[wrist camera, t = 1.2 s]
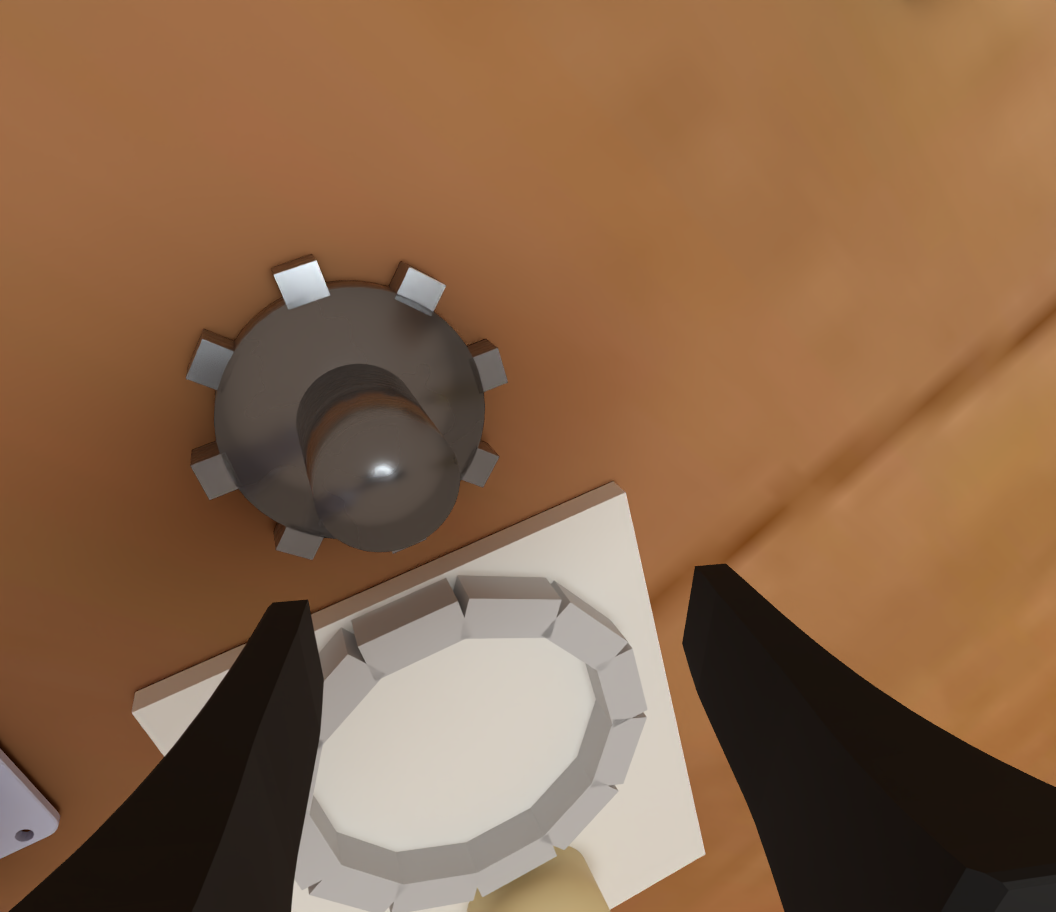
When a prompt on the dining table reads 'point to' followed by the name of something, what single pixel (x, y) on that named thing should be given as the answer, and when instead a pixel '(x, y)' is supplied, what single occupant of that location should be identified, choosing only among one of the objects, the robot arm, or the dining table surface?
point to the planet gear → (347, 410)
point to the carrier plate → (487, 729)
